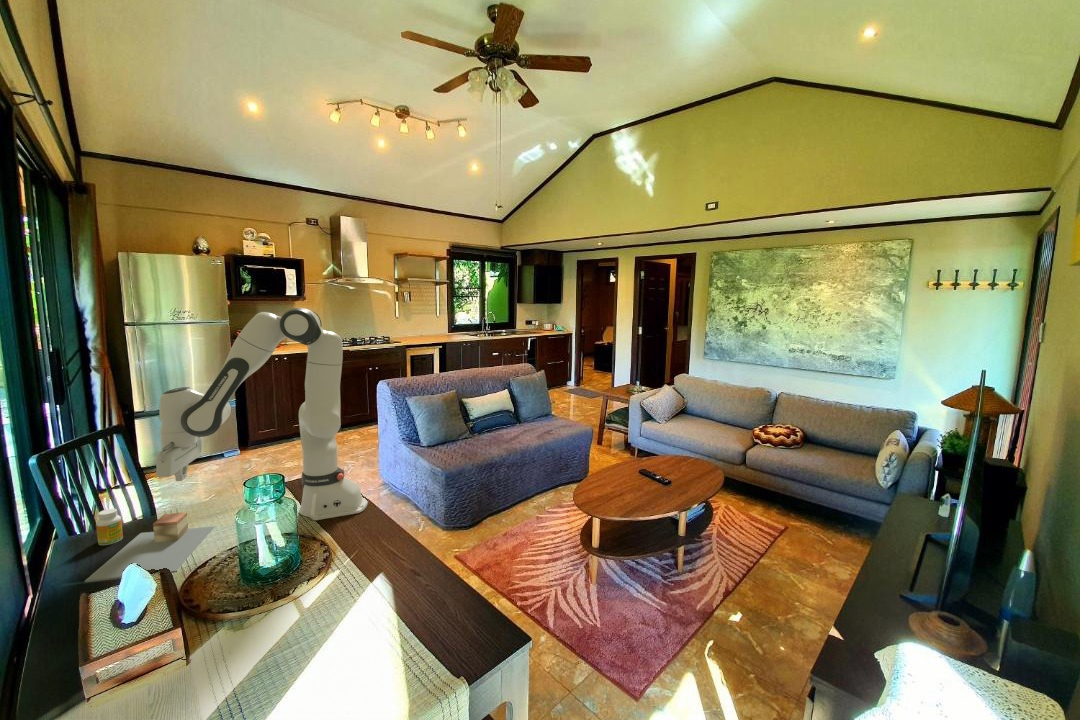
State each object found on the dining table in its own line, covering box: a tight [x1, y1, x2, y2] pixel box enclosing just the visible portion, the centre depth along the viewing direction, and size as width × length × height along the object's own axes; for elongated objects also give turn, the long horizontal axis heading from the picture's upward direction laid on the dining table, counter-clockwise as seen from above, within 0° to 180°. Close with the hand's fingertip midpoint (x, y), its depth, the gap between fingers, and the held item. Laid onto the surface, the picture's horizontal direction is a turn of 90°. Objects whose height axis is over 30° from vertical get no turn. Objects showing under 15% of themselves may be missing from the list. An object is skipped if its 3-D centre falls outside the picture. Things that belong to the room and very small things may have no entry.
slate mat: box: [84, 526, 216, 583], centre depth 127 cm, size 20×24×1 cm
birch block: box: [152, 511, 189, 542], centre depth 135 cm, size 6×6×6 cm
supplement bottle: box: [95, 508, 124, 546], centre depth 131 cm, size 5×5×10 cm
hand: (181, 479), depth 141 cm, fingers closed
